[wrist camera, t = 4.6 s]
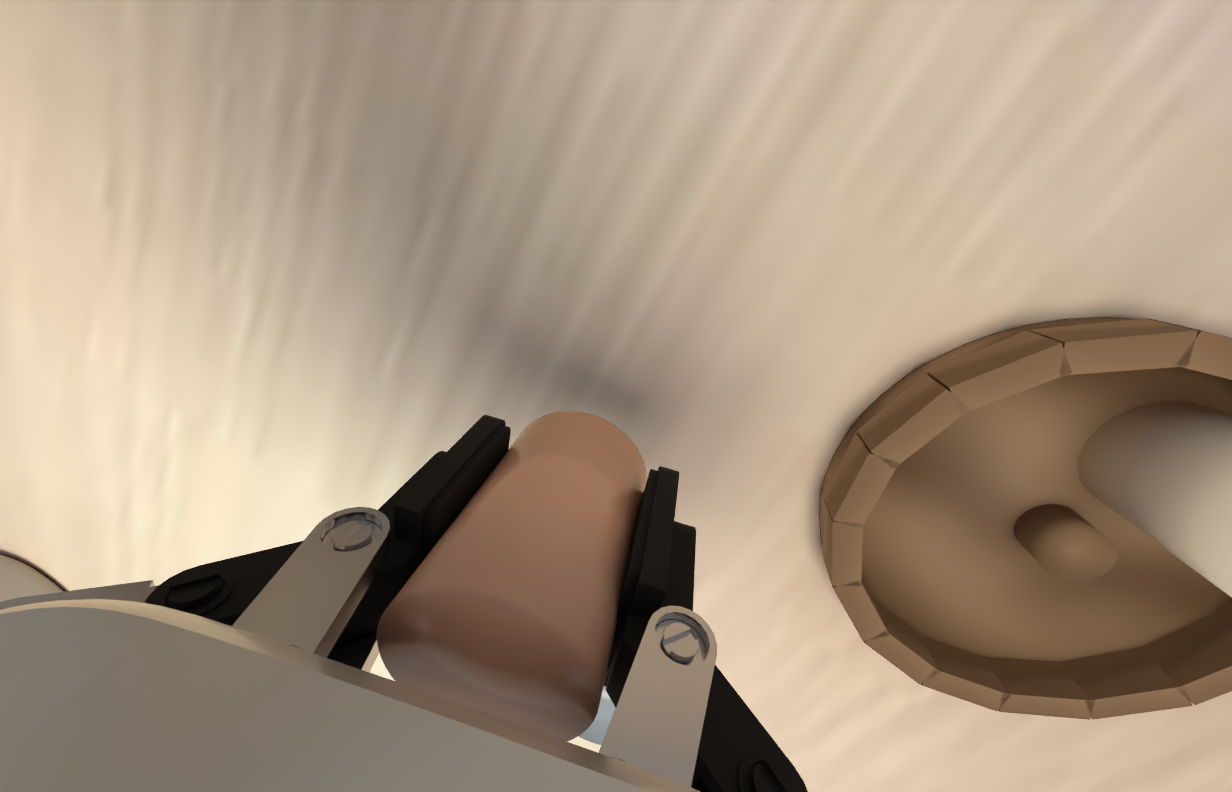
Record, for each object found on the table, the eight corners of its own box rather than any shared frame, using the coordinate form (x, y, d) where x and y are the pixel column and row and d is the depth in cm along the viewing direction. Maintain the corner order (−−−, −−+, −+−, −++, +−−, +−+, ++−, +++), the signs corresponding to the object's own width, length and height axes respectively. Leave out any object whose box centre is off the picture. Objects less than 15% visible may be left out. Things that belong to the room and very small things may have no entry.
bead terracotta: (520, 394, 12) (372, 556, 7) (662, 435, 12) (624, 638, 6) (506, 505, 14) (379, 701, 9) (629, 543, 14) (576, 771, 8)
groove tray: (928, 265, 15) (966, 272, 12) (1453, 394, 13) (1600, 429, 11) (766, 590, 21) (772, 633, 18) (1112, 706, 19) (1163, 768, 17)
